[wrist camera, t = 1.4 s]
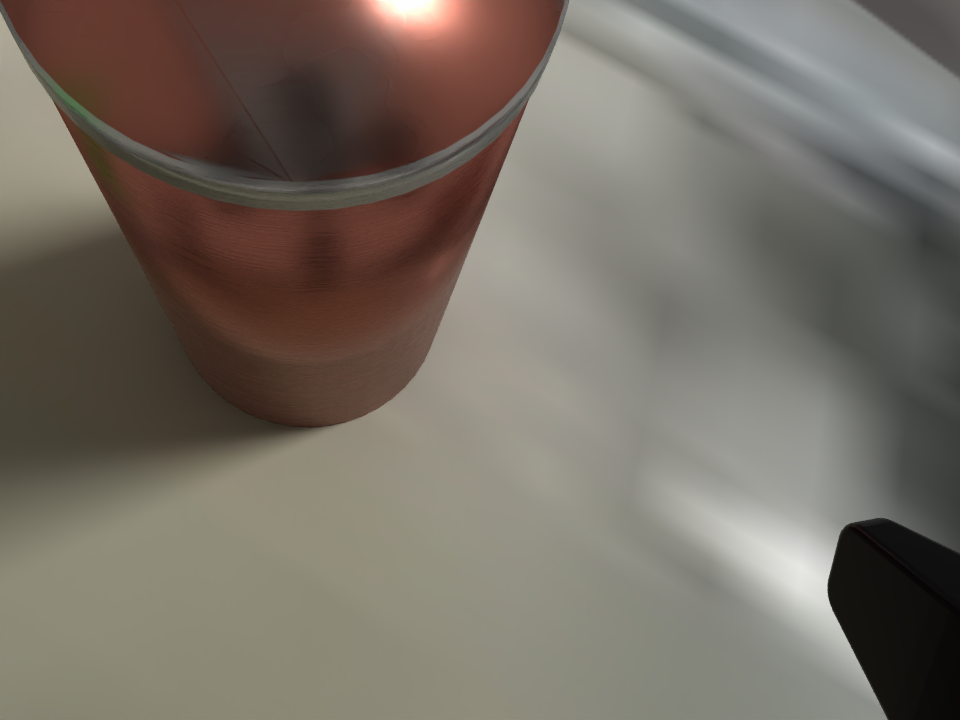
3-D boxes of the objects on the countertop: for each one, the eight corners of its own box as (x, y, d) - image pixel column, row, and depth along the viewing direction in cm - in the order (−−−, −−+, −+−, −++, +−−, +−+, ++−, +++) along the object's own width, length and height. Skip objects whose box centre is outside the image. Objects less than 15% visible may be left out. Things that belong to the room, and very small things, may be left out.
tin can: (408, 456, 22) (516, 253, 10) (139, 393, 21) (-121, 89, 9) (463, 217, 24) (613, -209, 11) (217, 153, 23) (94, -372, 11)
